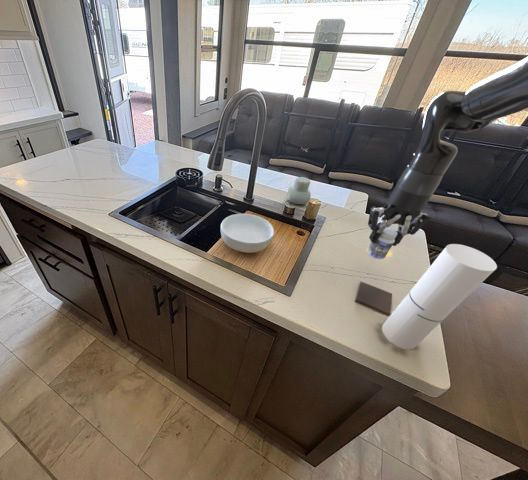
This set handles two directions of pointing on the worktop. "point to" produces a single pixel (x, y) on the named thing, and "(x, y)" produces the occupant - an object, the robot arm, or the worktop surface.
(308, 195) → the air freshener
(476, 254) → the cylindrical container
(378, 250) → the pill bottle
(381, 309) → the plate
